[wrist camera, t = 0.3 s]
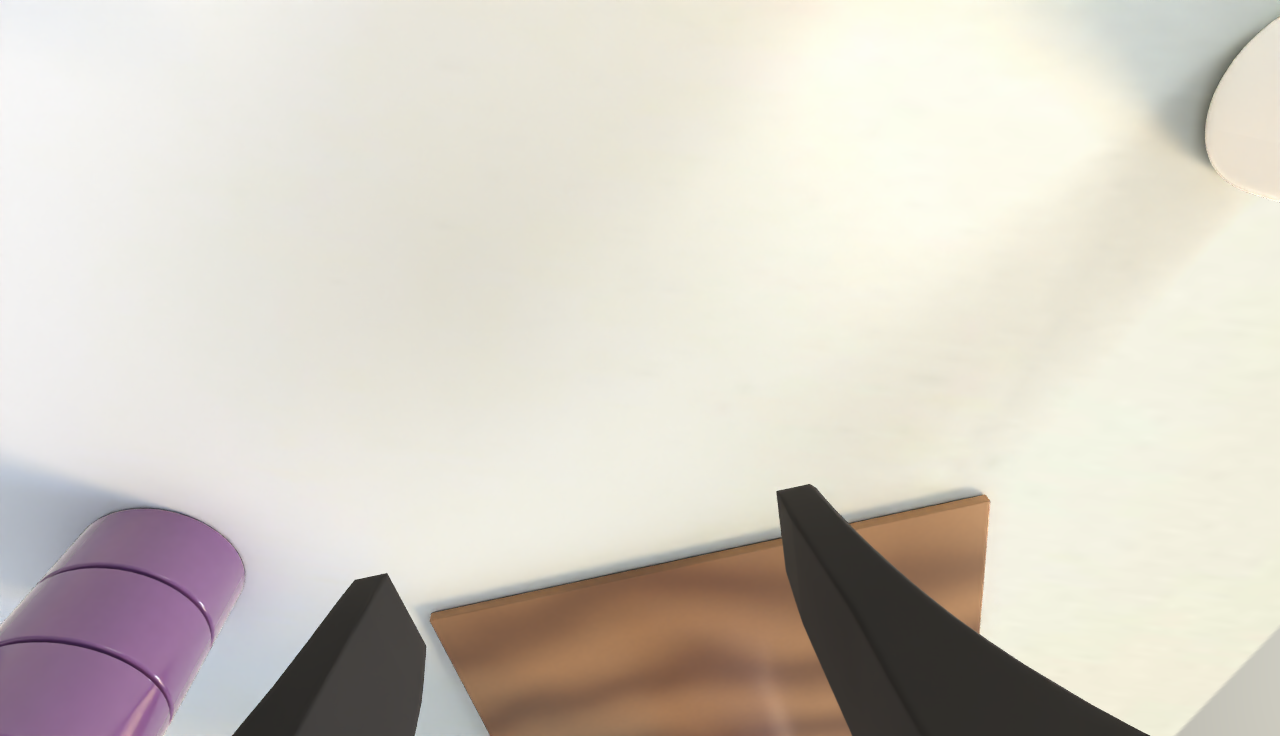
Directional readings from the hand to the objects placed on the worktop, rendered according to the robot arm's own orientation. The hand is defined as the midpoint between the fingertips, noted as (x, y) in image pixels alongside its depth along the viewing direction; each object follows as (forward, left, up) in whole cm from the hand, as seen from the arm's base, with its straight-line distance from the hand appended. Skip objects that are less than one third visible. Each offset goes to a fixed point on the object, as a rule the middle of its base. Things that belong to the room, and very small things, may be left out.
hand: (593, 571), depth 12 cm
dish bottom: (-5, +17, -10) cm, 20 cm away
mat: (-17, -2, -10) cm, 20 cm away
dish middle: (-5, +17, -7) cm, 19 cm away
